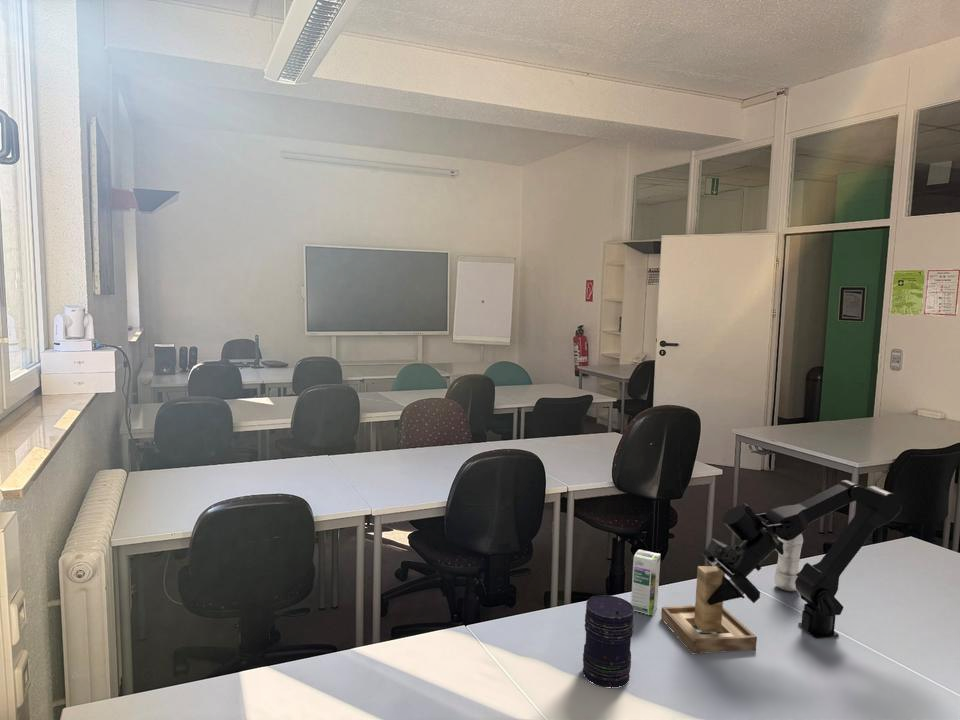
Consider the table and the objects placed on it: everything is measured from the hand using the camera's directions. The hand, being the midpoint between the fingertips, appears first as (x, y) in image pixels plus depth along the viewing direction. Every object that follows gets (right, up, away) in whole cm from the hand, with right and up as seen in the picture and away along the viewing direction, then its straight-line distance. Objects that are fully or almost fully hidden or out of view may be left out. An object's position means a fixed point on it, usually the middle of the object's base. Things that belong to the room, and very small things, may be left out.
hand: (703, 598), depth 151 cm
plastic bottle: (+32, -7, +27) cm, 42 cm away
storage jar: (-26, -10, -17) cm, 33 cm away
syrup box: (-11, -7, +12) cm, 18 cm away
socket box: (+1, -9, +1) cm, 9 cm away
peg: (+1, -7, +1) cm, 7 cm away
